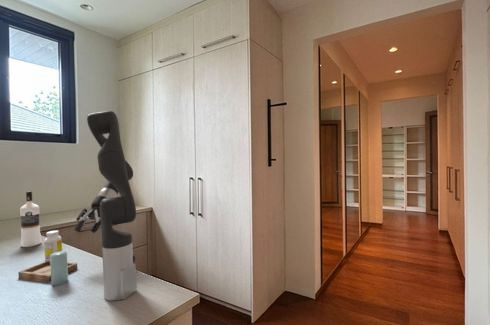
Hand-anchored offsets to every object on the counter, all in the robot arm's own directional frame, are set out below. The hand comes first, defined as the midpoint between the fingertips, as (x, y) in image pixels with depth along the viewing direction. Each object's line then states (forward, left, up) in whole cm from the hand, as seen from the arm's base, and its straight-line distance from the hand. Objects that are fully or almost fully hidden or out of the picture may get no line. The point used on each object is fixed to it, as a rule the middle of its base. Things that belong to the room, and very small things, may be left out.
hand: (84, 231), depth 109 cm
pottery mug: (-16, -2, -17) cm, 23 cm away
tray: (+12, +7, -16) cm, 21 cm away
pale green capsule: (0, +12, -16) cm, 20 cm away
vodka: (+59, -19, -16) cm, 64 cm away
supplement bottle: (+26, -6, -16) cm, 31 cm away
